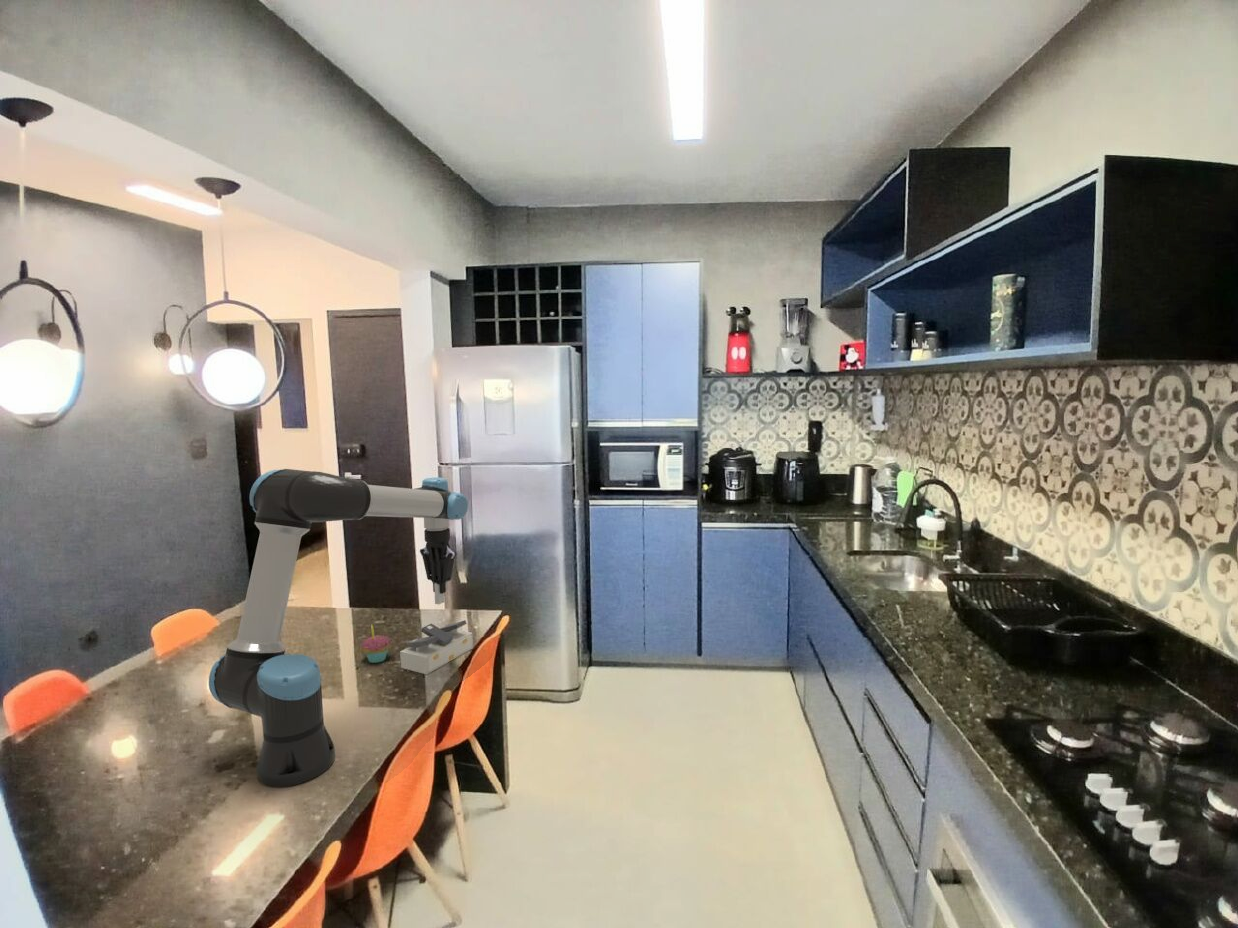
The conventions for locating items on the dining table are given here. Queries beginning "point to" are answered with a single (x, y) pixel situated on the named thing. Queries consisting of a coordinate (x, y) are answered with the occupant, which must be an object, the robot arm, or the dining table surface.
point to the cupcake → (376, 647)
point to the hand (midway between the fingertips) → (439, 602)
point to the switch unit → (436, 652)
